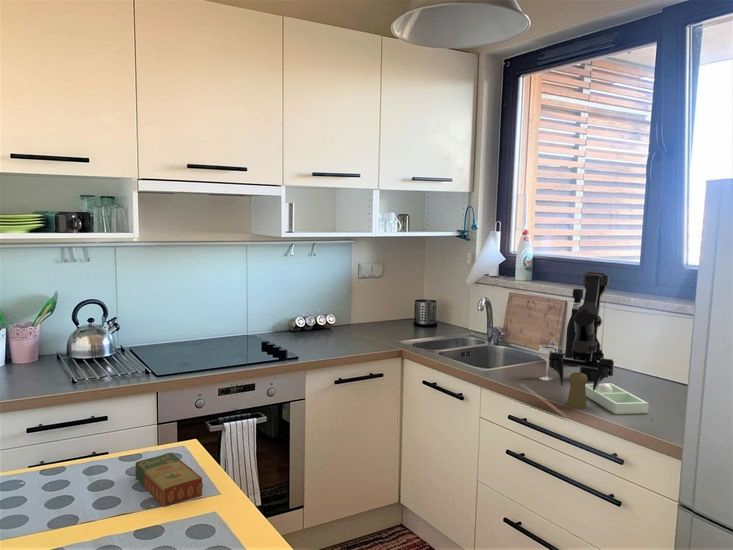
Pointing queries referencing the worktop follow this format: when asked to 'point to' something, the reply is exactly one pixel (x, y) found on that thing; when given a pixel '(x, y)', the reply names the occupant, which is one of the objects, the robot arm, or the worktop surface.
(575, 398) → the cork
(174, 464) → the carton
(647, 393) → the worktop surface
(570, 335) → the wine bottle
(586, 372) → the robot arm
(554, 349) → the wineglass
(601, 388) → the egg
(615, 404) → the green divided tray
